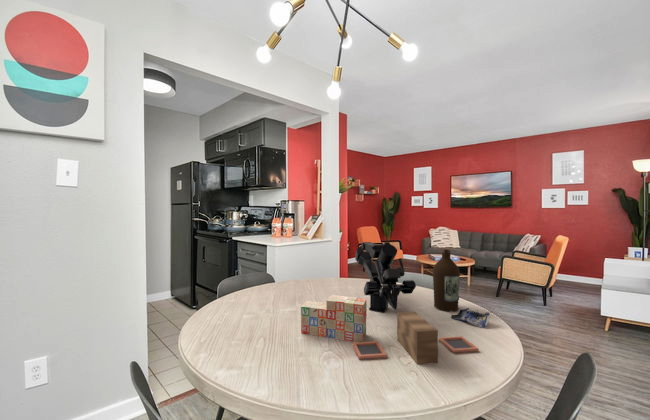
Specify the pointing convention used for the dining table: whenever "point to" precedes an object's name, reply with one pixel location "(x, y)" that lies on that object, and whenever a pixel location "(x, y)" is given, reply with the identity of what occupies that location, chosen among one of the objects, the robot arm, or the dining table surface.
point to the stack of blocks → (335, 318)
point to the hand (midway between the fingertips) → (395, 309)
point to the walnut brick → (417, 337)
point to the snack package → (472, 317)
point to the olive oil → (446, 283)
